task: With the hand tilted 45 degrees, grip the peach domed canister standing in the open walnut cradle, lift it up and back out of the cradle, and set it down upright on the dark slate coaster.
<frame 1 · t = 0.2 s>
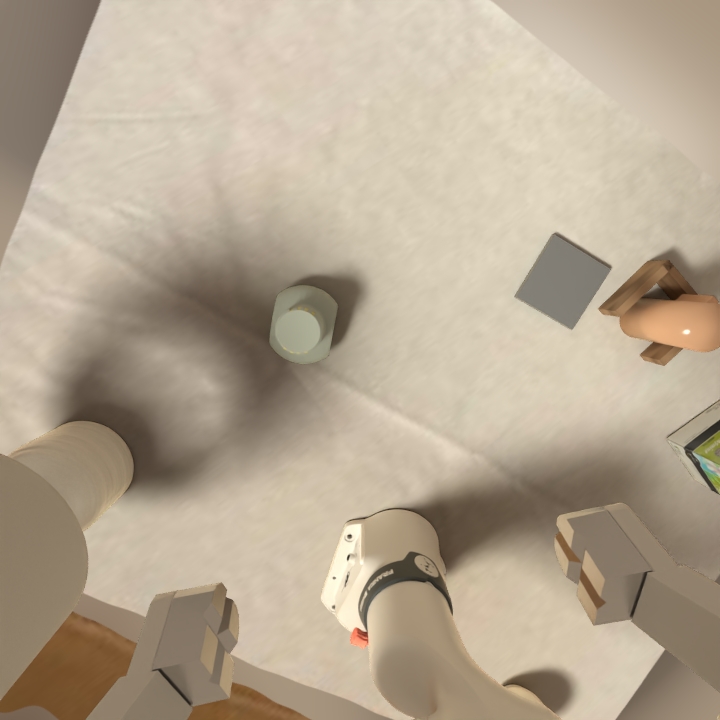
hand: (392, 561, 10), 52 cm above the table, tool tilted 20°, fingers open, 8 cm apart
air freshener: (306, 322, 61), on the table
tea box: (717, 431, 67), on the table
lamp: (90, 463, 64), on the table
coaster: (560, 283, 61), on the table
peach domed canister: (674, 318, 56), in the cradle
lidded jar: (510, 696, 75), on the table
cradle: (639, 318, 62), on the table
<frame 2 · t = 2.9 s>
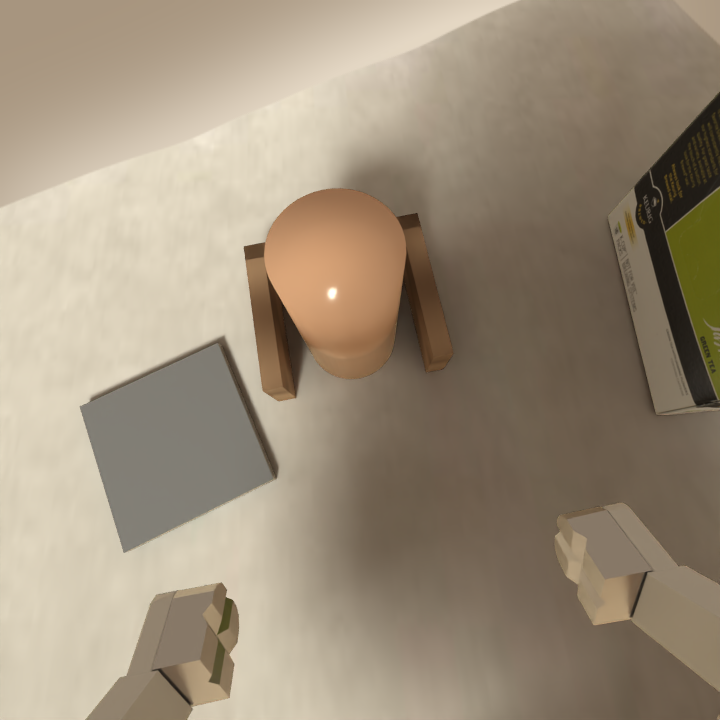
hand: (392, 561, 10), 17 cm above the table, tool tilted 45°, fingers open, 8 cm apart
tea box: (695, 304, 29), on the table
coaster: (179, 442, 28), on the table
peach domed canister: (342, 291, 23), in the cradle
cradle: (351, 337, 29), on the table
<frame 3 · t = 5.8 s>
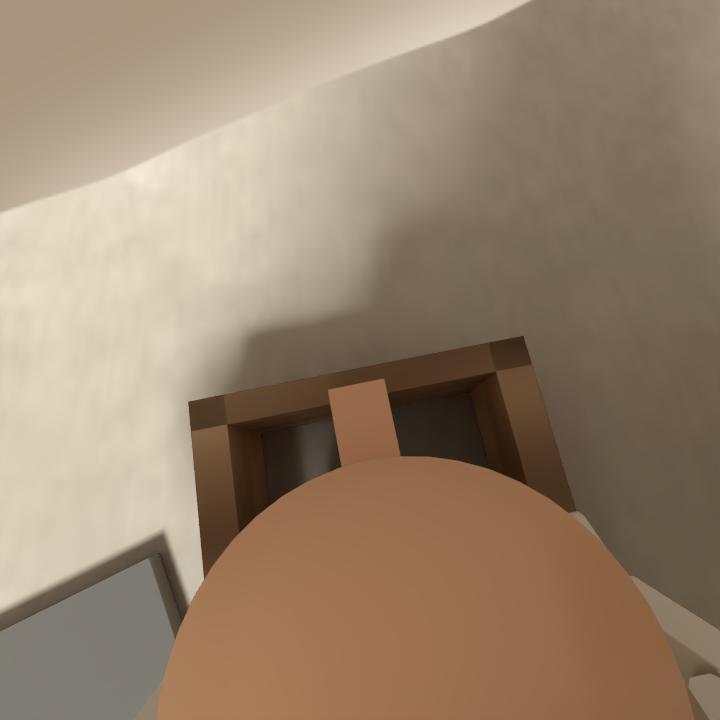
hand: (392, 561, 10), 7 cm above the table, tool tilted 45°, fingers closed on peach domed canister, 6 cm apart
peach domed canister: (390, 548, 11), in the cradle, touching gripper
cradle: (390, 540, 16), on the table
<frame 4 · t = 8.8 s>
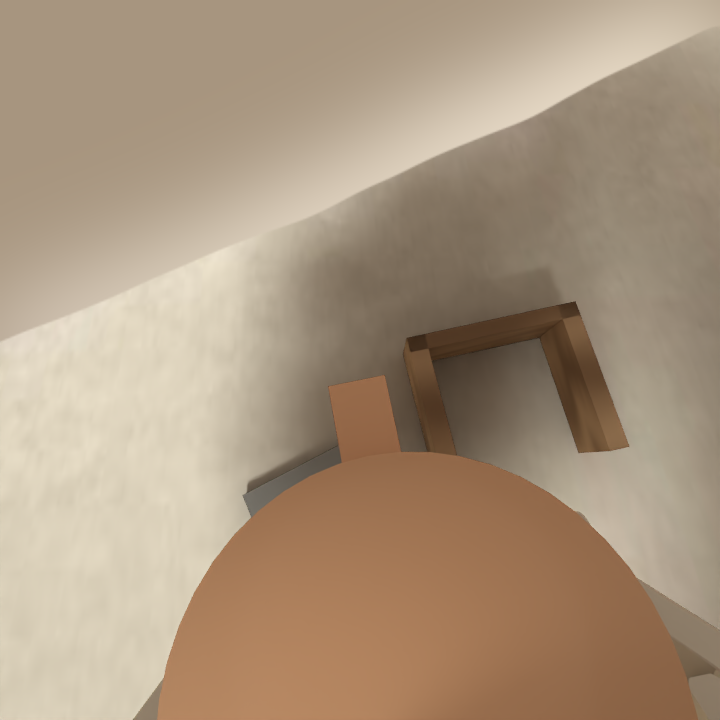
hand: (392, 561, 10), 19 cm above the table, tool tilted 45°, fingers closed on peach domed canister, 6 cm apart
coaster: (341, 528, 28), on the table
peach domed canister: (390, 545, 11), point 19 cm above the table, touching gripper
cradle: (500, 417, 30), on the table
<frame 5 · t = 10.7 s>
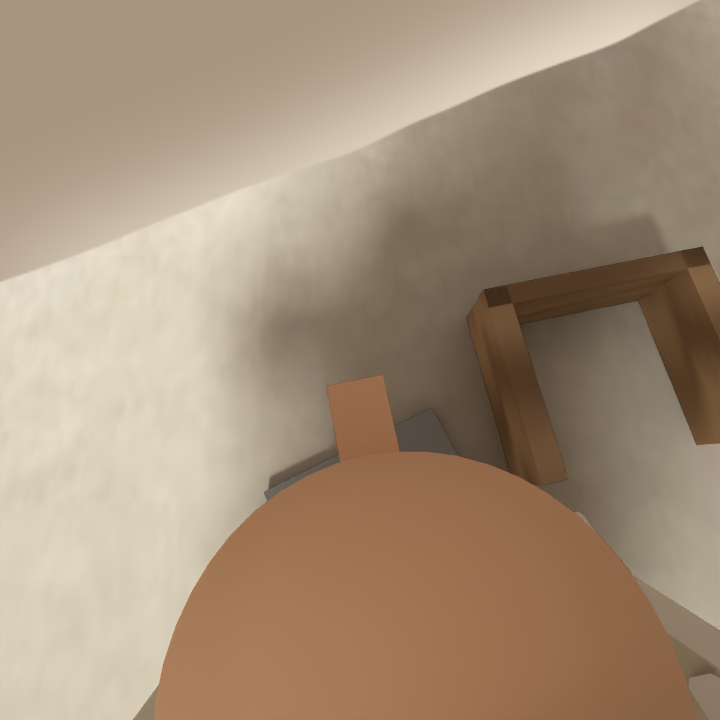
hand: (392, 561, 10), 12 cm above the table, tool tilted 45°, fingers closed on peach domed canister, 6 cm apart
coaster: (391, 537, 22), on the table
peach domed canister: (389, 545, 11), point 12 cm above the table, touching gripper
cradle: (594, 398, 23), on the table
when the fingers open (8 cm above the table, at t = 12.1 s): peach domed canister stays where it is, resting on coaster.
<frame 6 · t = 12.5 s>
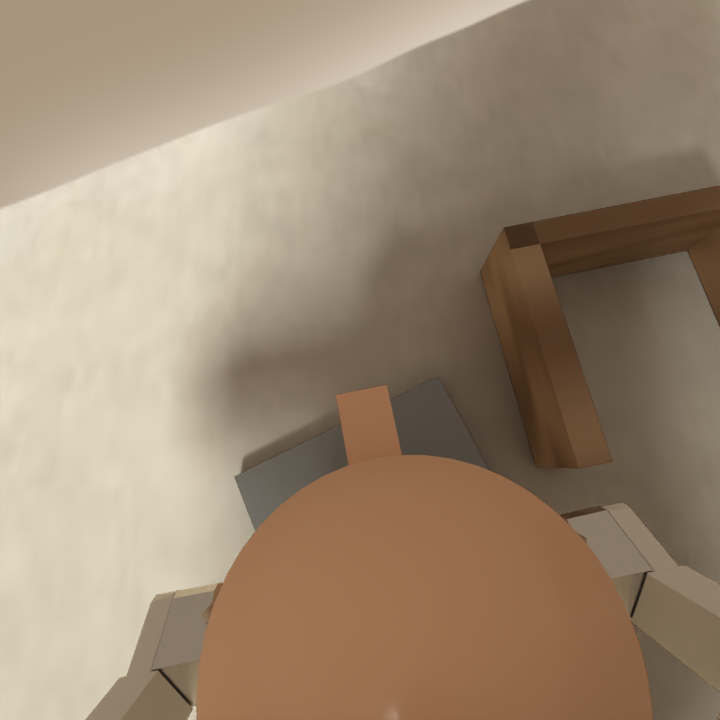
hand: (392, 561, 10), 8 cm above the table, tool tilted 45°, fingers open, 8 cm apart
coaster: (388, 531, 18), on the table
peach domed canister: (391, 540, 12), on the coaster, point 7 cm above the table
cradle: (634, 366, 19), on the table
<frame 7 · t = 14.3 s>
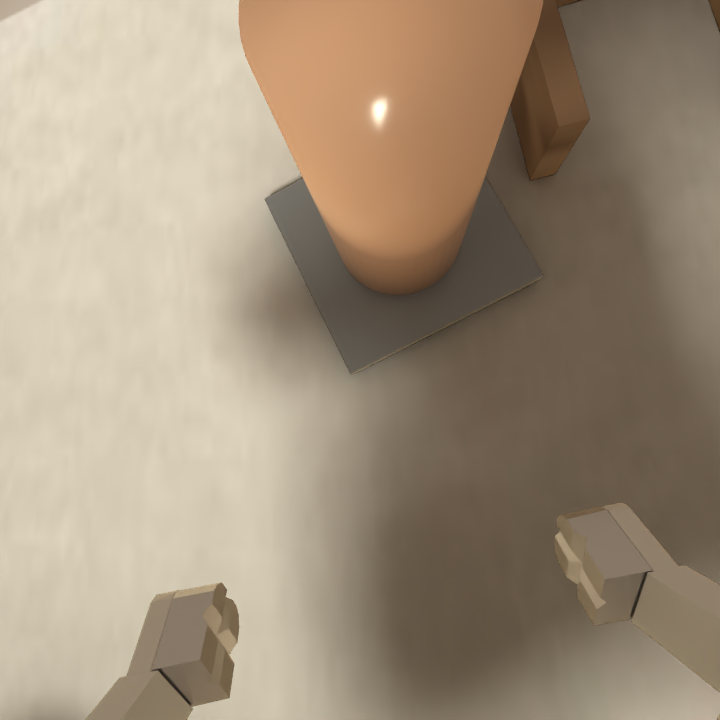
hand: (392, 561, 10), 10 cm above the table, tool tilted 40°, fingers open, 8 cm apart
coaster: (397, 241, 21), on the table
peach domed canister: (389, 143, 14), on the coaster, point 7 cm above the table
cradle: (631, 84, 20), on the table
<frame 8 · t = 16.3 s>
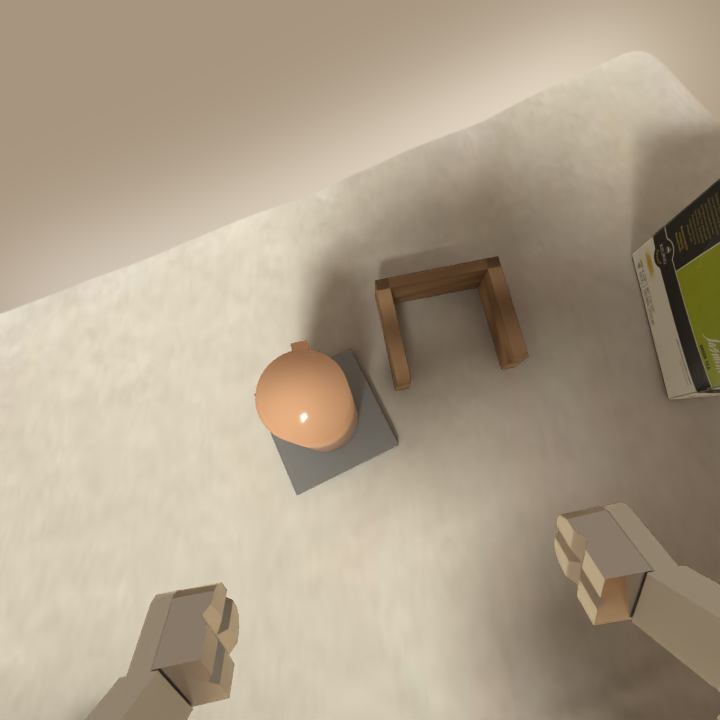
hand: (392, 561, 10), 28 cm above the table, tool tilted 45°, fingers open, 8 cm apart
tea box: (696, 319, 40), on the table
coaster: (325, 419, 39), on the table
peach domed canister: (314, 398, 32), on the coaster, point 7 cm above the table
cradle: (445, 344, 40), on the table
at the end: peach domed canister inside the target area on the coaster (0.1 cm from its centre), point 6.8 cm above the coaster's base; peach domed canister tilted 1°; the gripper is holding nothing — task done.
